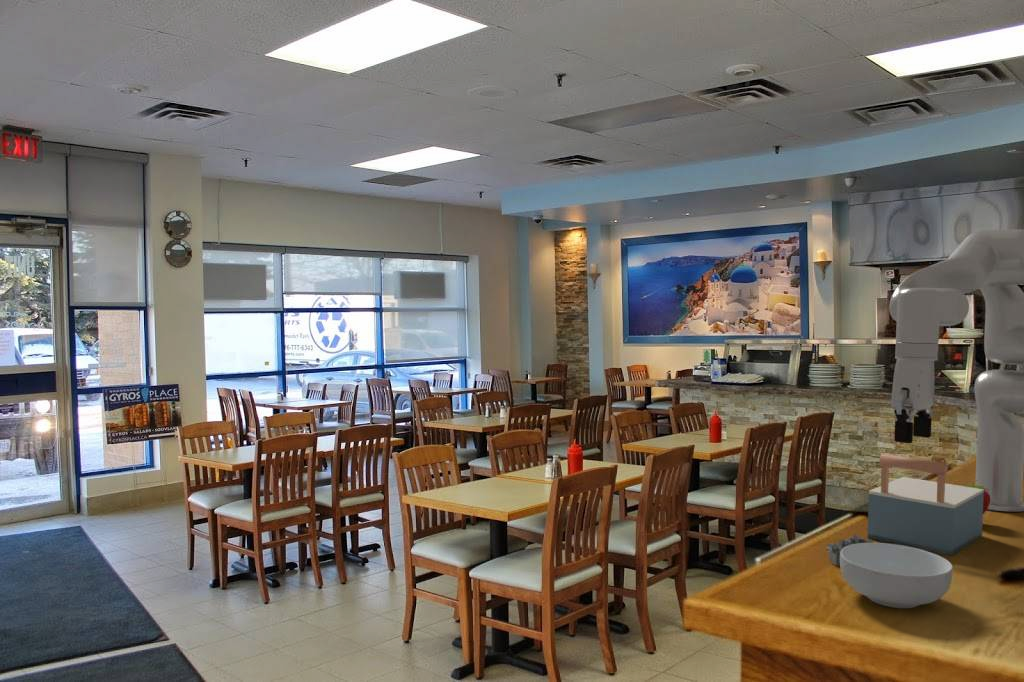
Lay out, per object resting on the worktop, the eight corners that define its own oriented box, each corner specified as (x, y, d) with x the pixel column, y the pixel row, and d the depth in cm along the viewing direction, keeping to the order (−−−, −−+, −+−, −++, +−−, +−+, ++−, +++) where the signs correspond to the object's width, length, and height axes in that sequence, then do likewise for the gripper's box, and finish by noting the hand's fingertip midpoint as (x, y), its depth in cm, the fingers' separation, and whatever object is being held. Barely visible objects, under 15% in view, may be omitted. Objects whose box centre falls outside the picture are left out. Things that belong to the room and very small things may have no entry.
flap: (902, 479, 186) (904, 441, 186) (983, 492, 175) (985, 451, 175) (868, 494, 173) (869, 453, 173) (953, 508, 162) (954, 465, 162)
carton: (901, 520, 187) (902, 479, 186) (981, 535, 176) (983, 492, 175) (867, 537, 174) (868, 494, 174) (951, 555, 163) (953, 508, 162)
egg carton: (858, 574, 154) (858, 551, 153) (821, 562, 160) (821, 541, 159) (891, 562, 160) (892, 540, 159) (855, 552, 166) (855, 531, 166)
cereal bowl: (896, 626, 129) (898, 580, 129) (816, 590, 145) (817, 549, 144) (975, 609, 136) (977, 566, 136) (891, 576, 151) (892, 537, 151)
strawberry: (993, 522, 186) (995, 476, 185) (983, 529, 180) (985, 482, 179) (963, 517, 190) (965, 472, 189) (953, 524, 184) (955, 478, 183)
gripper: (913, 349, 175) (909, 432, 176) (879, 352, 163) (875, 442, 164) (952, 351, 170) (948, 437, 171) (920, 355, 158) (916, 447, 159)
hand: (912, 439), depth 168 cm, fingers open, 9 cm apart
